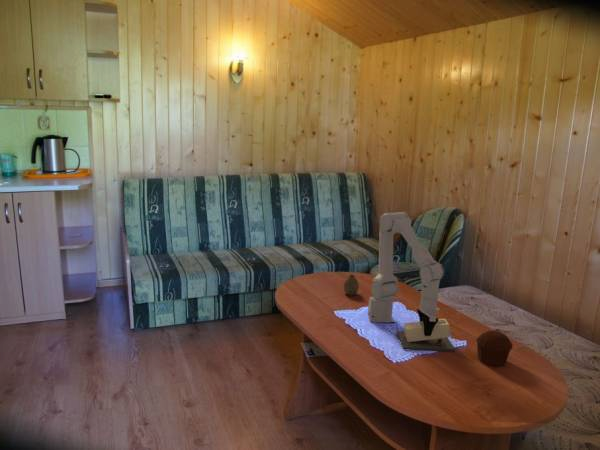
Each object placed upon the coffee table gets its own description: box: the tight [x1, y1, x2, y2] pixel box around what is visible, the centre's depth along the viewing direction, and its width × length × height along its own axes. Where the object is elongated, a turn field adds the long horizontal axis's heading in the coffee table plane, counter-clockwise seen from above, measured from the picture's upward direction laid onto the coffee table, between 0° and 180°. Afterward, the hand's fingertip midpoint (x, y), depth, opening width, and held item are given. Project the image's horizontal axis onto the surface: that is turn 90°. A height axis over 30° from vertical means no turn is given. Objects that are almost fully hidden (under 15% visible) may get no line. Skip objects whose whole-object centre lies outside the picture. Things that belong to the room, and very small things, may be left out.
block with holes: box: [403, 318, 451, 342], centre depth 179 cm, size 15×5×5 cm, turn 90°
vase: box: [343, 274, 360, 296], centre depth 225 cm, size 7×7×9 cm
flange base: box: [396, 330, 456, 353], centre depth 180 cm, size 18×13×4 cm
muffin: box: [476, 330, 513, 368], centre depth 168 cm, size 12×11×10 cm
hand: (425, 332), depth 179 cm, fingers closed on block with holes, 5 cm apart
